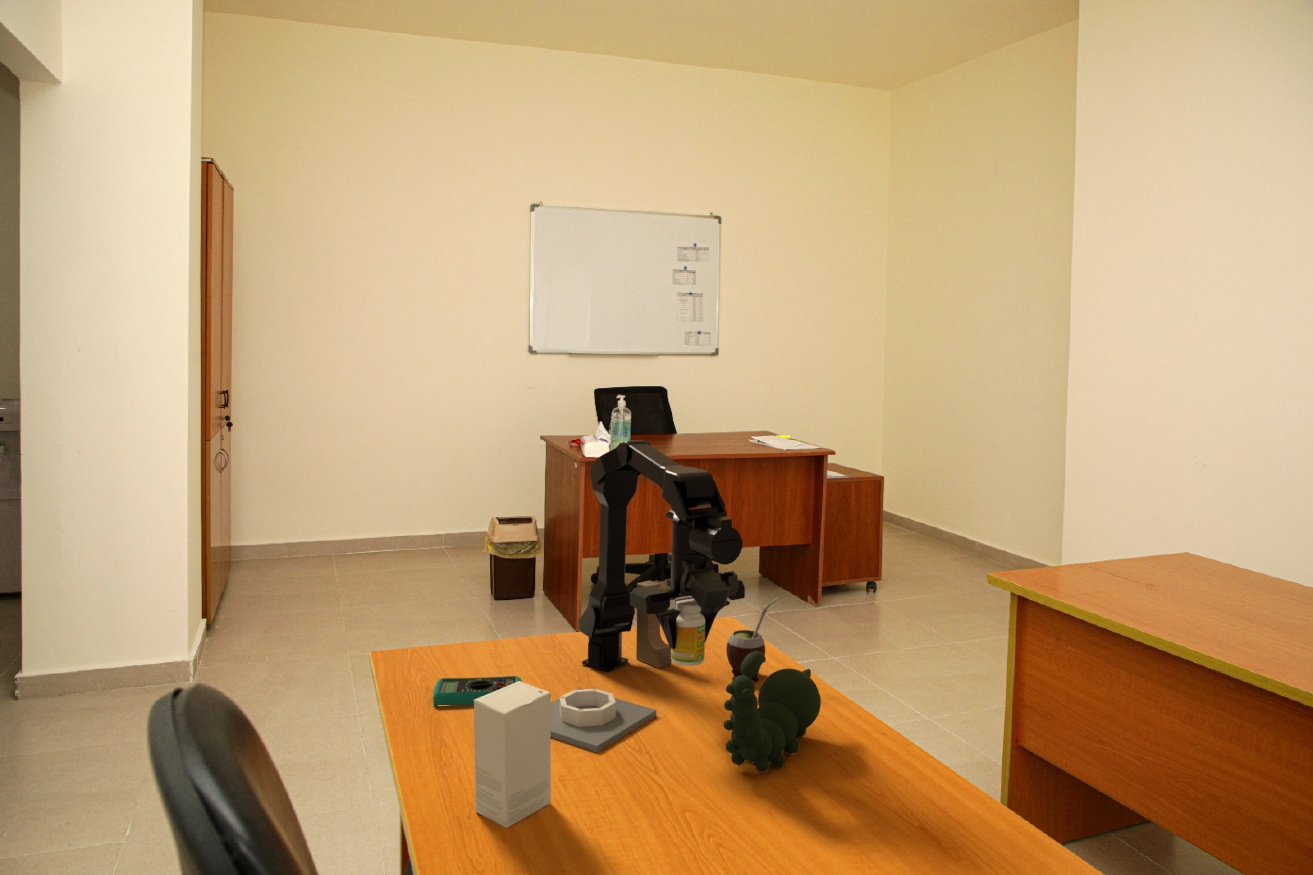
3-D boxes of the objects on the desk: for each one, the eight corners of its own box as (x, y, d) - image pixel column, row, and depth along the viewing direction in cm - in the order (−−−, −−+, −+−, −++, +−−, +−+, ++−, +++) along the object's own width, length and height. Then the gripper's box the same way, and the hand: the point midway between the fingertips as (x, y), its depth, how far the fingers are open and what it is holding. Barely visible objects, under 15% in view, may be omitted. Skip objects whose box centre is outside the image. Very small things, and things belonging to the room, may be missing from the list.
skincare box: (520, 788, 124) (520, 678, 122) (554, 805, 120) (554, 691, 118) (472, 813, 117) (470, 697, 116) (506, 831, 113) (505, 711, 112)
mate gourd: (717, 675, 166) (719, 595, 164) (747, 665, 171) (749, 588, 169) (748, 688, 160) (750, 605, 159) (777, 677, 166) (779, 597, 164)
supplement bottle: (701, 668, 143) (702, 608, 142) (667, 665, 144) (669, 605, 143) (706, 656, 148) (707, 598, 147) (674, 653, 149) (675, 595, 148)
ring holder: (579, 693, 157) (579, 673, 157) (656, 715, 148) (656, 695, 148) (516, 725, 144) (516, 704, 143) (596, 752, 135) (596, 730, 134)
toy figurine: (769, 805, 124) (837, 724, 144) (767, 675, 120) (837, 612, 141) (708, 786, 129) (783, 710, 149) (705, 661, 125) (781, 601, 146)
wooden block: (635, 659, 174) (636, 583, 172) (648, 655, 176) (649, 580, 174) (659, 669, 169) (660, 590, 167) (671, 664, 171) (673, 587, 169)
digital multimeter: (522, 706, 152) (522, 689, 152) (431, 710, 150) (431, 692, 150) (523, 689, 159) (523, 673, 159) (437, 692, 158) (436, 676, 157)
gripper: (666, 569, 132) (664, 672, 134) (767, 554, 142) (764, 651, 144) (628, 552, 142) (627, 649, 143) (726, 540, 151) (723, 630, 153)
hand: (687, 645), depth 146 cm, fingers closed on supplement bottle, 5 cm apart
